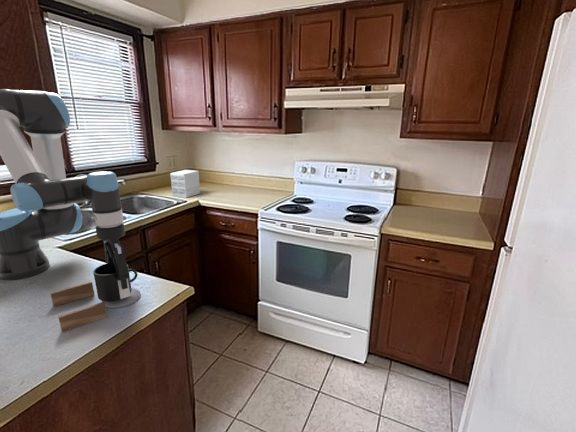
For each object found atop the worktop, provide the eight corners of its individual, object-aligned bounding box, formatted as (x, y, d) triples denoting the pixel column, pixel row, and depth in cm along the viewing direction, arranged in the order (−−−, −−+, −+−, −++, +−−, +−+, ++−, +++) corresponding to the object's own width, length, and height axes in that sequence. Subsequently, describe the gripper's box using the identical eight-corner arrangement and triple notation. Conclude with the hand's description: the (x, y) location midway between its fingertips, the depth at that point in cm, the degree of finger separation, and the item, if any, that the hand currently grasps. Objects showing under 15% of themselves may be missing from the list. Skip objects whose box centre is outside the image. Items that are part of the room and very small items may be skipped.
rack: (53, 305, 97) (50, 292, 96) (93, 293, 104) (91, 281, 103) (62, 332, 85) (58, 318, 84) (107, 316, 92) (104, 302, 91)
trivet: (98, 297, 102) (98, 296, 102) (134, 286, 109) (134, 284, 109) (107, 312, 94) (107, 310, 94) (145, 299, 101) (145, 297, 101)
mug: (144, 291, 101) (140, 266, 99) (102, 305, 93) (97, 278, 91) (134, 281, 108) (130, 256, 105) (94, 293, 100) (89, 267, 97)
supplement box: (186, 192, 252) (185, 169, 247) (200, 193, 247) (199, 170, 242) (171, 196, 236) (169, 172, 231) (186, 198, 232) (184, 173, 226)
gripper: (87, 218, 99) (98, 281, 106) (105, 236, 84) (117, 310, 90) (113, 213, 104) (122, 274, 111) (134, 230, 89) (144, 300, 95)
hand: (120, 290), depth 101 cm, fingers closed on mug, 9 cm apart
